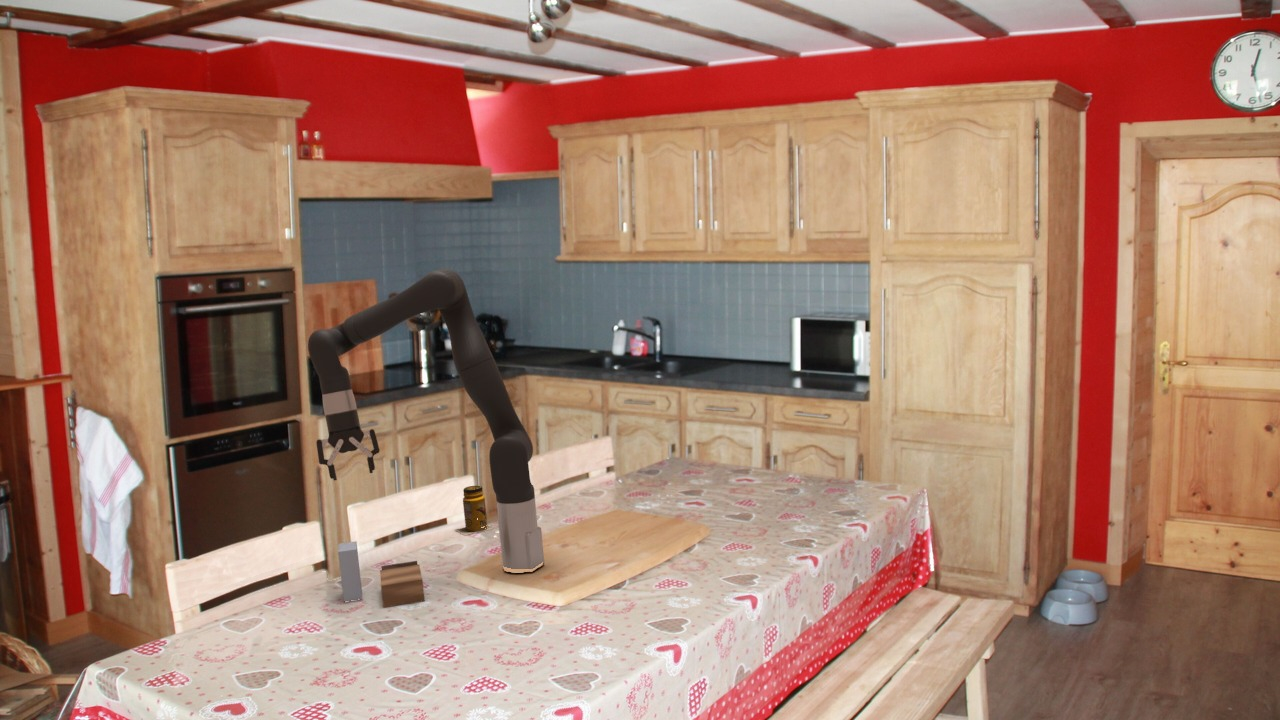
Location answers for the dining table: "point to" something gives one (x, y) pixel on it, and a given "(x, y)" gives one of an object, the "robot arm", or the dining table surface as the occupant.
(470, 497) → the condiment
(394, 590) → the wooden grain block
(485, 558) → the dining table surface
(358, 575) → the tall grey pillar
